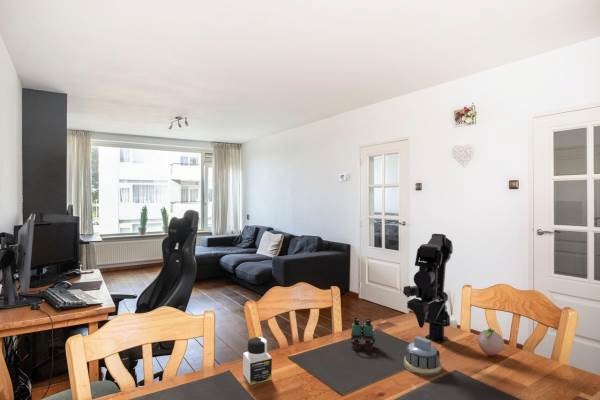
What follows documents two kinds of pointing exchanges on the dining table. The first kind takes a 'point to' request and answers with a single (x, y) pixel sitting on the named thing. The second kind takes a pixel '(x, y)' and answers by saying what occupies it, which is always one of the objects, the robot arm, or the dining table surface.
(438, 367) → the notched grey ring
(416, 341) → the grey rounded piece
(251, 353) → the medicine bottle
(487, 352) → the decorative fruit
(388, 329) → the dining table surface
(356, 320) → the binoculars
